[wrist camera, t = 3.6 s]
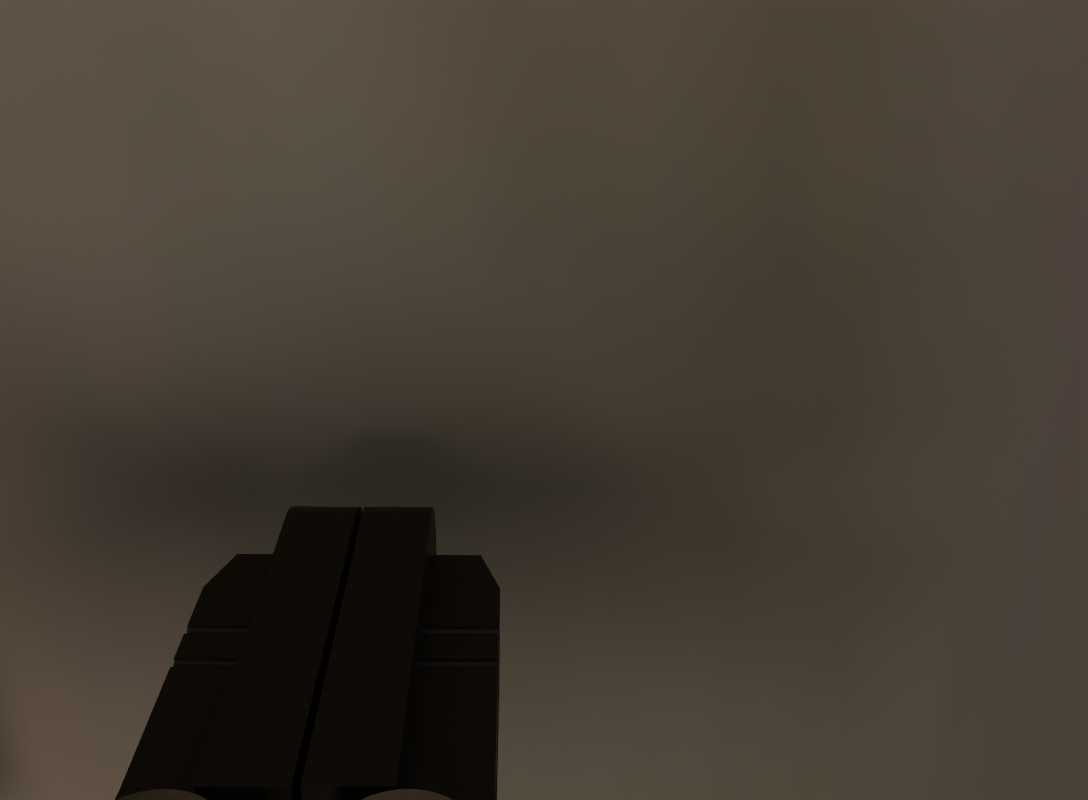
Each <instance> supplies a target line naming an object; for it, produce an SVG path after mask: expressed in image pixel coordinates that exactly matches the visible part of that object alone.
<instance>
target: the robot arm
mask: <svg viewBox="0 0 1088 800" xmlns="http://www.w3.org/2000/svg"><path fill="white" fill-rule="evenodd" d="M499 659H500V588H499V586H498V584H497V583H496V581H495V579H494V577H493V576H492V574H491V572H490V571H489V569H488V567H487V565H486V564H485V562H484V560H483V558H482V557H481V555H436V527H435V513H434V508H433V507H365V508H364V510H363V511H362V508H361V507H309V506H292V507H290V508H289V510H288V512H287V514H286V517H285V520H284V523H283V526H282V529H281V532H280V535H279V538H278V541H277V544H276V547H275V550H274V553H273V554H237V555H236V556H235V557H234V558H233V559H232V560H231V561H230V562H229V563H228V564H227V565H226V566H225V567H224V568H223V569H222V570H221V571H219V572H218V573H217V574H216V575H215V576H214V577H213V578H212V579H211V580H210V581H209V582H208V583H207V584H206V585H205V586H204V587H203V589H202V592H201V594H200V597H199V599H198V601H197V604H196V606H195V609H194V611H193V613H192V616H191V618H190V621H189V623H188V626H187V634H184V635H183V638H182V640H181V643H180V645H179V647H178V650H177V652H176V655H175V657H174V666H173V667H170V669H169V672H168V674H167V676H166V679H165V681H164V684H163V686H162V688H161V691H160V693H159V696H158V698H157V701H156V703H155V705H154V708H153V710H152V713H151V715H150V718H149V720H148V722H147V725H146V727H145V730H144V732H143V734H142V737H141V739H140V742H139V744H138V747H137V749H136V751H135V754H134V756H133V759H132V761H131V763H130V766H129V768H128V771H127V773H126V776H125V778H124V780H123V783H122V785H121V788H120V790H119V792H118V794H117V796H116V798H115V800H497V772H498V730H499Z"/></svg>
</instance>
